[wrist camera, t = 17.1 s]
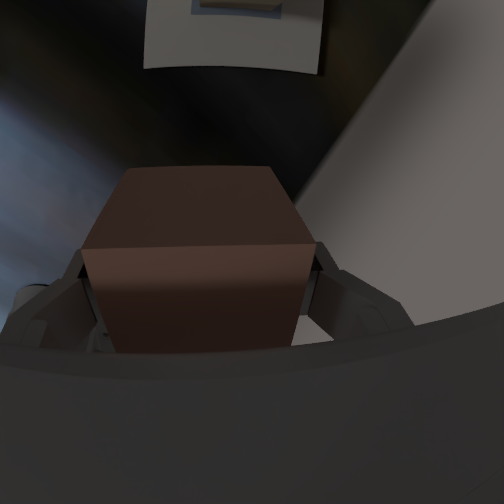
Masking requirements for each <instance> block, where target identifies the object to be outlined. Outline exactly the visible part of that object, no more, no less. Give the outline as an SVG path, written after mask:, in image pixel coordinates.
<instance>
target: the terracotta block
mask: <svg viewBox="0 0 504 504" xmlns="http://www.w3.org/2000/svg"><path fill="white" fill-rule="evenodd" d="M315 249H316V242H315V240H314V239H313V237H312V235H311V233H310V232H309V230H308V228H307V227H306V225H305V223H304V222H303V220H302V218H301V217H300V215H299V213H298V212H297V210H296V208H295V207H294V205H293V203H292V202H291V200H290V199H289V197H288V195H287V194H286V192H285V190H284V189H283V187H282V186H281V184H280V182H279V181H278V179H277V178H276V176H275V175H274V173H273V171H272V170H271V168H270V167H263V166H171V167H147V168H130V169H128V170H127V171H126V173H125V174H124V176H123V177H122V179H121V180H120V182H119V183H118V185H117V187H116V188H115V190H114V191H113V193H112V195H111V196H110V198H109V200H108V201H107V203H106V205H105V206H104V208H103V210H102V211H101V213H100V215H99V216H98V218H97V220H96V222H95V224H94V225H93V227H92V229H91V231H90V233H89V234H88V236H87V238H86V240H85V242H84V244H83V246H82V248H81V253H82V256H83V260H84V264H85V267H86V270H87V274H88V277H89V280H90V283H91V286H92V290H93V293H94V296H95V299H96V302H97V304H98V307H99V310H100V313H101V316H102V318H103V321H104V324H105V326H106V329H107V331H108V334H109V337H110V339H111V342H112V344H113V346H114V349H115V351H116V353H203V352H224V351H240V350H254V349H266V348H276V347H286V346H291V343H292V339H293V335H294V332H295V329H296V325H297V321H298V317H299V314H300V310H301V306H302V302H303V298H304V294H305V290H306V286H307V282H308V278H309V274H310V270H311V266H312V262H313V257H314V253H315Z"/></svg>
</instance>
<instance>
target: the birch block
mask: <svg viewBox="0 0 504 504" xmlns="http://www.w3.org/2000/svg"><path fill="white" fill-rule="evenodd" d="M283 1H284V0H199V3H200V7H226V8H245V9H257V10H267V11H272V10H273V9H274V8H275V7H277V6H278V5H279V4H280V3H282V2H283Z"/></svg>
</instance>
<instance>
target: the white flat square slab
mask: <svg viewBox="0 0 504 504" xmlns="http://www.w3.org/2000/svg"><path fill="white" fill-rule="evenodd" d="M323 7H324V0H284V1H283V2H282V3H280V4H279V5H278V6H277V7H275V8H274V9H273V10H272V11H267V10H257V9H245V8H226V7H200V3H199V0H148V2H147V14H146V28H145V46H144V68H158V67H175V66H238V67H255V68H268V69H278V70H287V71H295V72H303V73H310V74H317V69H318V59H319V50H320V40H321V30H322V19H323Z"/></svg>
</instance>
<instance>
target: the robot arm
mask: <svg viewBox="0 0 504 504" xmlns="http://www.w3.org/2000/svg"><path fill="white" fill-rule="evenodd" d="M299 315H308V317H310V318H311V319H312V320H313V321H314V322H315V323H316V324H317V325H319V326H320V327H321V328H322V329H323V330H324V331H325V332H326V333H328V334H329V335H330V336H331V337H332V338H333V339H334V341H327V342H320V343H312V344H305V345H296V346H286V347H276V348H266V349H254V350H240V351H224V352H203V353H116V351H115V349H114V346H113V344H112V342H111V339H110V337H109V334H108V331H107V329H106V326H105V324H104V321H103V318H102V316H101V313H100V310H99V307H98V304H97V302H96V299H95V296H94V293H93V290H92V286H91V283H90V280H89V277H88V274H87V270H86V267H85V264H84V260H83V256H82V253H81V249H78V250H77V251H76V252H75V254H74V256H73V258H72V260H71V262H70V264H69V266H68V268H67V270H66V272H65V274H64V276H63V278H62V279H57V280H56V281H55V282H53V283H52V284H50V285H49V286H48V287H46V286H39V285H33V286H27V287H25V288H23V289H21V290H20V291H19V292H18V293H17V294H16V296H15V299H14V303H13V308H12V311H11V312H10V313H9V314H8V317H7V320H6V323H5V325H4V327H3V329H2V332H1V334H0V504H504V302H503V303H500V304H497V305H494V306H490V307H487V308H483V309H480V310H476V311H473V312H469V313H465V314H462V315H458V316H454V317H450V318H446V319H442V320H438V321H434V322H430V323H426V324H421V325H417V326H415V325H414V324H413V322H412V321H411V319H410V317H409V316H408V314H407V313H406V311H405V310H404V308H403V307H402V306H401V304H400V302H398V301H396V300H395V299H393V298H391V297H389V296H388V295H386V294H384V293H383V292H381V291H379V290H377V289H376V288H374V287H372V286H371V285H369V284H367V283H366V282H364V281H362V280H360V279H359V278H357V277H355V276H354V275H352V274H350V273H348V272H347V271H345V270H339V268H338V267H337V265H336V264H335V261H334V260H333V258H332V257H331V255H330V253H329V252H328V250H327V248H326V247H325V246H324V244H323V243H322V242H316V249H315V253H314V257H313V262H312V266H311V270H310V274H309V278H308V282H307V286H306V290H305V294H304V298H303V302H302V306H301V310H300V314H299Z"/></svg>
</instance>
